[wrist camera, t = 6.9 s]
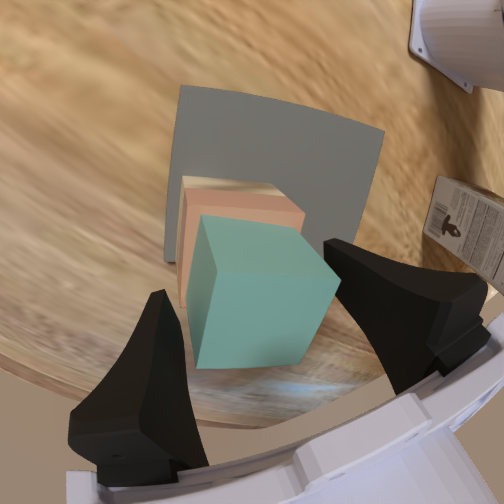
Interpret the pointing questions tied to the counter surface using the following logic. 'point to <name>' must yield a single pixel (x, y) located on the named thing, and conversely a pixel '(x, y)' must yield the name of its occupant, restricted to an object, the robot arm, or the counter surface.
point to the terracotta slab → (228, 206)
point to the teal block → (254, 294)
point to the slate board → (275, 157)
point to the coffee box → (469, 226)
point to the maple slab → (220, 185)
